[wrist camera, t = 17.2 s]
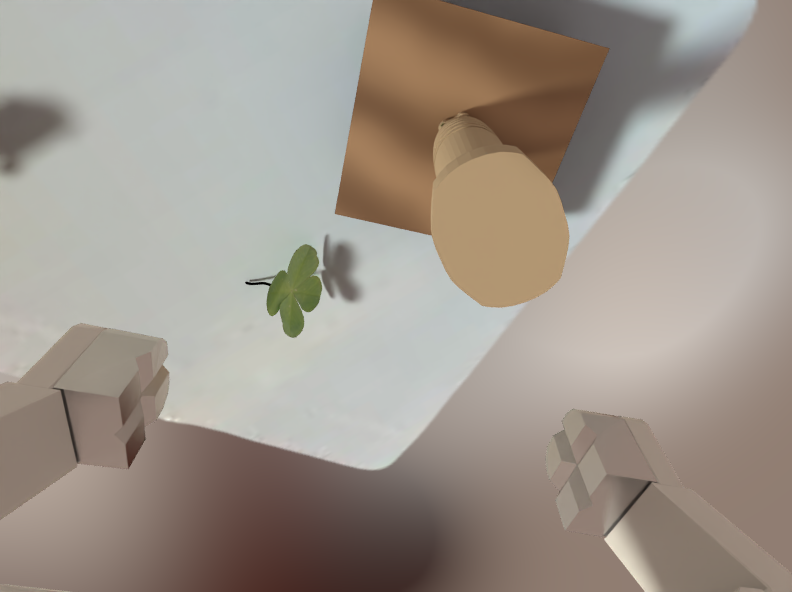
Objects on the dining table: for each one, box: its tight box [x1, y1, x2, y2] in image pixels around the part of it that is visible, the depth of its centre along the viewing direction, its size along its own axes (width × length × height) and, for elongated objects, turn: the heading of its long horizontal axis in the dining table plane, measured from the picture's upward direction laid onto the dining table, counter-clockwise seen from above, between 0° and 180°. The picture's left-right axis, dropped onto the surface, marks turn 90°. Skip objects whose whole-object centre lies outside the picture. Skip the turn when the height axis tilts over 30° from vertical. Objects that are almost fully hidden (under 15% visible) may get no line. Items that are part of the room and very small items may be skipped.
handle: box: [431, 112, 569, 307], centre depth 24 cm, size 5×6×15 cm
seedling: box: [245, 244, 322, 338], centre depth 42 cm, size 7×8×6 cm
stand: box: [335, 0, 610, 235], centre depth 33 cm, size 14×14×6 cm
